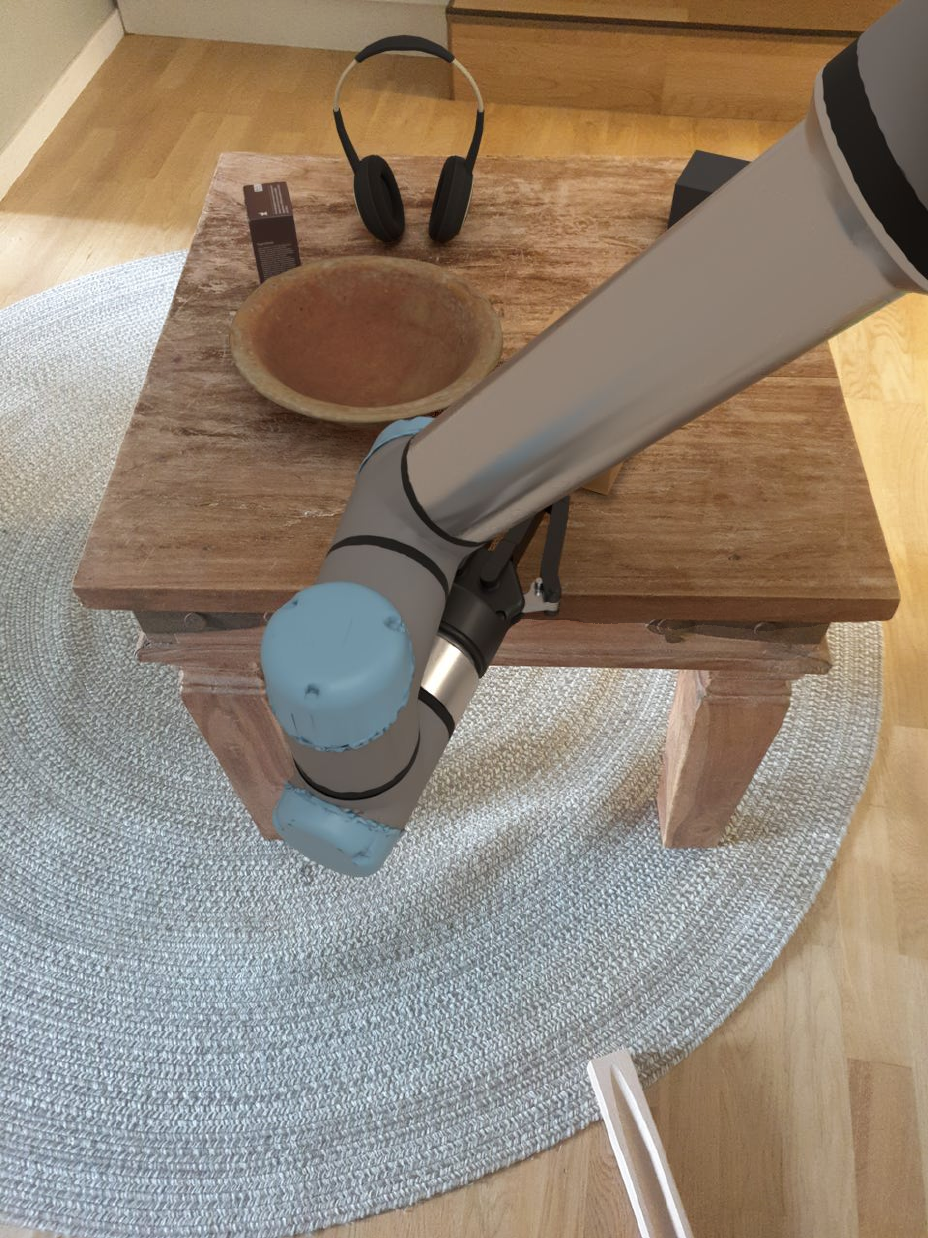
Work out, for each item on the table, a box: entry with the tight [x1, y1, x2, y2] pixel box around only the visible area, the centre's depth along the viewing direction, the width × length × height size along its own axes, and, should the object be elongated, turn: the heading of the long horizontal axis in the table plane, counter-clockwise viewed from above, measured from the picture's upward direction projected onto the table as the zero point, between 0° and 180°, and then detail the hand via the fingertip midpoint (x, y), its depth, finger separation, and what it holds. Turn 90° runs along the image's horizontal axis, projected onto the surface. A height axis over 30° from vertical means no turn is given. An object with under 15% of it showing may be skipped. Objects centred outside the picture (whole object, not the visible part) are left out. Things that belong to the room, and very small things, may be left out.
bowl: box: [228, 255, 504, 429], centre depth 83 cm, size 24×24×8 cm
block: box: [666, 149, 752, 231], centre depth 97 cm, size 7×7×7 cm
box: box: [242, 180, 302, 286], centre depth 89 cm, size 6×4×12 cm
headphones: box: [332, 34, 485, 245], centre depth 92 cm, size 9×15×20 cm, turn 87°
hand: (560, 429), depth 75 cm, fingers closed
